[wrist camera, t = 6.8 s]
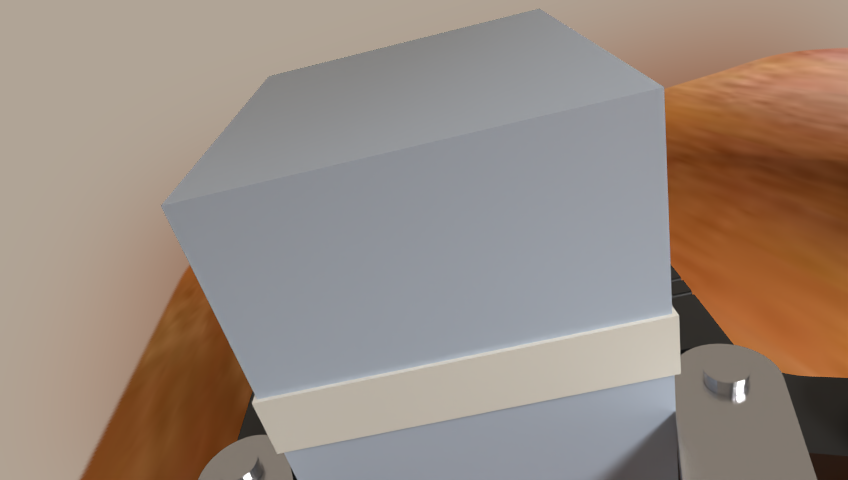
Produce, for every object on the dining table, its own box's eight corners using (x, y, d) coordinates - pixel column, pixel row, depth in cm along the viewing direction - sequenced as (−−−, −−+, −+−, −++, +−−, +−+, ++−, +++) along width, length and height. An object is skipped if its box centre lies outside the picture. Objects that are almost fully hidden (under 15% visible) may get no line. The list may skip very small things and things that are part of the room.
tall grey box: (691, 739, 11) (671, 87, 5) (441, 777, 11) (153, 209, 5) (604, 495, 15) (541, 7, 9) (428, 528, 15) (266, 76, 10)
